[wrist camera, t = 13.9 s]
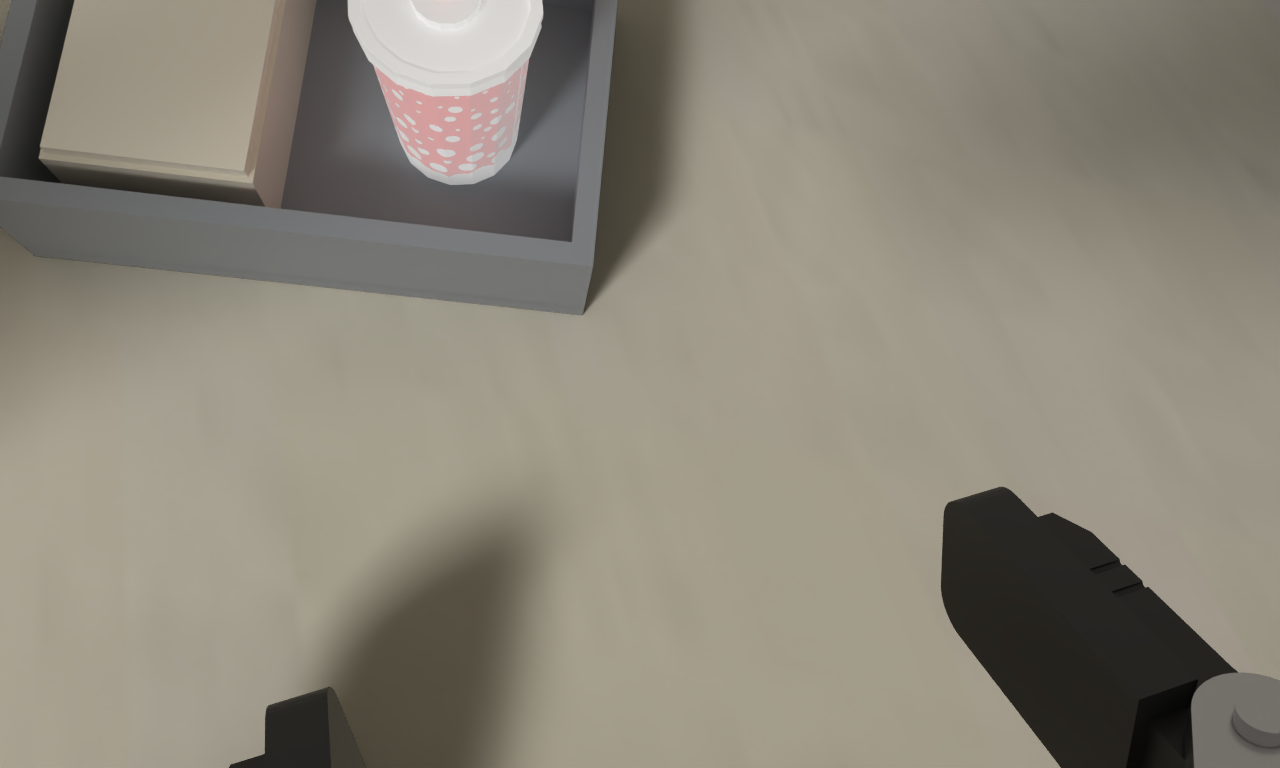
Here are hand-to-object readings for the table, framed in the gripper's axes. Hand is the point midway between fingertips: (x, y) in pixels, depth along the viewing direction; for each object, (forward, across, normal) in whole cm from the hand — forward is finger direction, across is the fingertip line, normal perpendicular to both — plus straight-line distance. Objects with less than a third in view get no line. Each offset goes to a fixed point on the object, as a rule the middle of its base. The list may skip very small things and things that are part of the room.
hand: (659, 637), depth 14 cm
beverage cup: (+32, -1, +4) cm, 33 cm away
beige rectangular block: (+35, +8, +1) cm, 35 cm away
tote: (+34, +3, +3) cm, 34 cm away
